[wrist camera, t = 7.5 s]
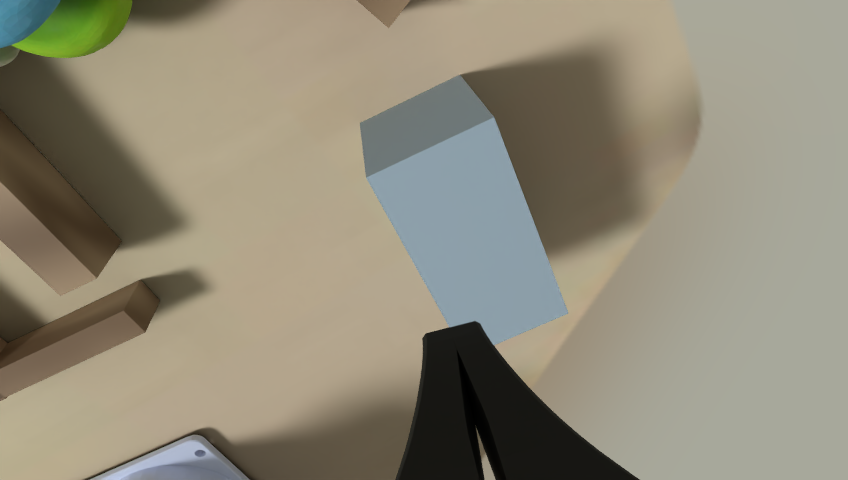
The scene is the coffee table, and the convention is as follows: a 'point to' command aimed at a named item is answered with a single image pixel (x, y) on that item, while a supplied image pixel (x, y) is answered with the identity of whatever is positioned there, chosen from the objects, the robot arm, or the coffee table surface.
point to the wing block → (461, 210)
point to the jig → (71, 257)
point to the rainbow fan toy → (59, 26)
